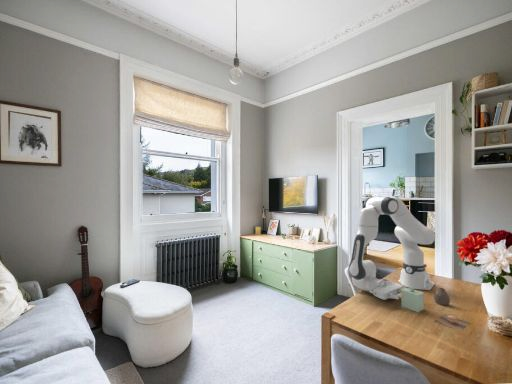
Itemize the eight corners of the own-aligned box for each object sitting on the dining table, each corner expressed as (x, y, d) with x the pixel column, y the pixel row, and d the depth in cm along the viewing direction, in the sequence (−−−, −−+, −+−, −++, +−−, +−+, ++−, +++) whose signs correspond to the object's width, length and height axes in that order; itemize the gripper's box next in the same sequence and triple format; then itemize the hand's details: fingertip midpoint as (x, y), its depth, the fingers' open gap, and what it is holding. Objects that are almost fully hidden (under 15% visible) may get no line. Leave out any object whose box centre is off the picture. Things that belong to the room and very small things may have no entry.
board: (444, 316, 122) (444, 314, 122) (470, 325, 114) (470, 323, 114) (433, 323, 116) (433, 320, 116) (460, 333, 107) (460, 331, 107)
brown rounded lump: (452, 308, 130) (452, 291, 130) (437, 307, 132) (437, 290, 132) (445, 302, 137) (445, 286, 137) (431, 301, 138) (431, 285, 138)
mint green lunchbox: (407, 304, 134) (407, 285, 134) (423, 310, 127) (423, 290, 127) (401, 307, 131) (401, 287, 131) (418, 313, 124) (418, 292, 124)
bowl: (449, 319, 117) (449, 314, 117) (458, 322, 114) (458, 317, 114) (446, 321, 115) (446, 316, 115) (455, 324, 112) (455, 319, 112)
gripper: (368, 285, 139) (393, 294, 127) (388, 278, 150) (413, 285, 138) (368, 296, 139) (392, 306, 127) (388, 289, 150) (413, 297, 138)
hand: (403, 295), depth 133 cm, fingers open, 8 cm apart
